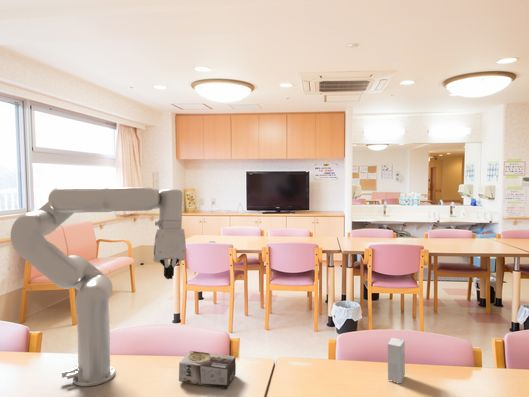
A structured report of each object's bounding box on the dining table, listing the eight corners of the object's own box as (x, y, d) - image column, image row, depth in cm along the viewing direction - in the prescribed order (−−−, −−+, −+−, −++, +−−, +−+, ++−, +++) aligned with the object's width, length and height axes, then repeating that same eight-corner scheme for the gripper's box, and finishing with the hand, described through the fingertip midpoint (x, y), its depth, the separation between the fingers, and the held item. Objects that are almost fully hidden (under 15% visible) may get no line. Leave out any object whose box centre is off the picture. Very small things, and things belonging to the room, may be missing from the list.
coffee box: (178, 382, 116) (227, 390, 113) (178, 362, 116) (227, 369, 113) (190, 368, 125) (236, 375, 122) (190, 349, 125) (236, 356, 121)
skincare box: (391, 373, 123) (391, 337, 123) (405, 376, 121) (404, 339, 120) (387, 381, 118) (387, 343, 117) (401, 384, 115) (401, 346, 115)
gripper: (151, 226, 120) (149, 282, 120) (195, 225, 128) (193, 278, 128) (145, 224, 126) (143, 278, 126) (187, 223, 134) (185, 274, 134)
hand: (168, 278), depth 127 cm, fingers closed
